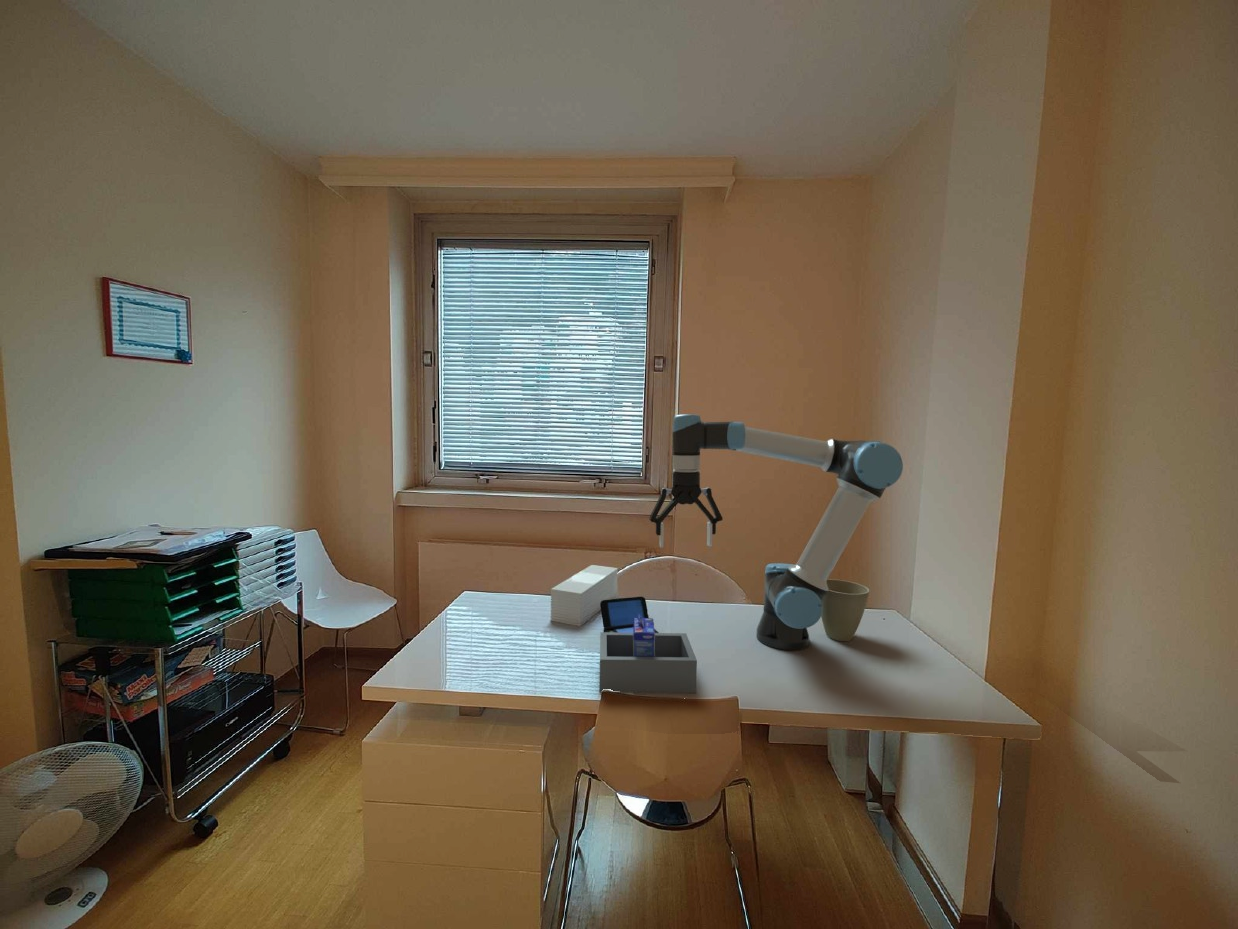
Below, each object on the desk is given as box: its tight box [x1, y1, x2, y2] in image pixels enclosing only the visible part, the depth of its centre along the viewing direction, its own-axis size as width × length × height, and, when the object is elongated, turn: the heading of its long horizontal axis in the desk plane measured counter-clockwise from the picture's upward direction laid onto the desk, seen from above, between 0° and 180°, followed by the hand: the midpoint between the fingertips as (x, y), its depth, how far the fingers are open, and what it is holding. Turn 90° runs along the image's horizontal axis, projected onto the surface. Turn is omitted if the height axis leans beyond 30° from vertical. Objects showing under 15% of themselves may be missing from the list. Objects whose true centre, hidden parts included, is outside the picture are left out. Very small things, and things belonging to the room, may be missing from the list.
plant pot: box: [820, 578, 870, 642], centre depth 157 cm, size 15×15×16 cm
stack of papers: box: [550, 564, 619, 627], centre depth 177 cm, size 32×11×11 cm, turn 159°
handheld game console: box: [600, 596, 660, 633], centre depth 156 cm, size 16×13×9 cm
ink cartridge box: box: [633, 613, 656, 657], centre depth 128 cm, size 10×6×14 cm, turn 179°
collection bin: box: [598, 631, 698, 694], centre depth 129 cm, size 23×16×8 cm
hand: (685, 546), depth 142 cm, fingers open, 13 cm apart
